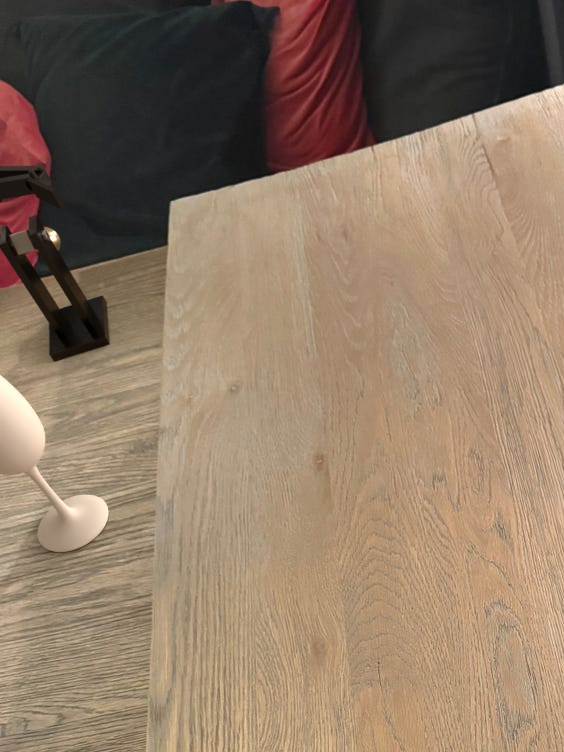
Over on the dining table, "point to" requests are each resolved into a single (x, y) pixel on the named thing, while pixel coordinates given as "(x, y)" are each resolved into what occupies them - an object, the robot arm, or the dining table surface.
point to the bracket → (66, 325)
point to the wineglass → (21, 454)
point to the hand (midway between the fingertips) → (20, 225)
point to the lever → (25, 243)
